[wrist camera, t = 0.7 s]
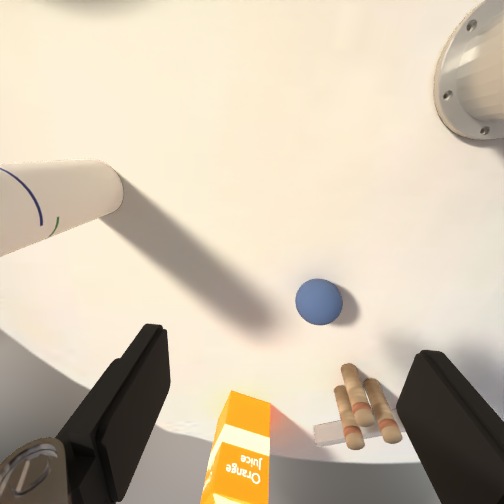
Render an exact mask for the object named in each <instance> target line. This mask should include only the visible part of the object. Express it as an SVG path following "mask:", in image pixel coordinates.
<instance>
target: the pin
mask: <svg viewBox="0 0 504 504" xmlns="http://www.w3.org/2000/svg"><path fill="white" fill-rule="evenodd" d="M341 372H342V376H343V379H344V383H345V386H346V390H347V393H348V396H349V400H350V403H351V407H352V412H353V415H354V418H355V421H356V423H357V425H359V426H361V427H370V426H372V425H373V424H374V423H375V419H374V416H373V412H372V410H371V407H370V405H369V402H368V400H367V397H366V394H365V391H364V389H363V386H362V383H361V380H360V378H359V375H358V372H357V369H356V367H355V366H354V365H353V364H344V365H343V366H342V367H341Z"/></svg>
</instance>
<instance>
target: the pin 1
mask: <svg viewBox="0 0 504 504" xmlns="http://www.w3.org/2000/svg"><path fill="white" fill-rule="evenodd" d="M334 393H335V397H336V401H337V406H338V410H339V414H340V418H341V422H342V427H343V432H344V437H345V440H346V444H347V447H348V448H350V449H352V450H360V449H362V448H363V447H364V446H365V443H364V440H363V435H362V432H361V429H360V426H359V425H357V423H356V421H355V418H354V415H353V412H352V407H351V403H350V400H349V396H348V393H347V390H346V386H337V387H336V388H335V389H334Z"/></svg>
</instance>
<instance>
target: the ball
mask: <svg viewBox="0 0 504 504" xmlns="http://www.w3.org/2000/svg"><path fill="white" fill-rule="evenodd" d="M342 305H343V301H342V296H341V294H340V292H339V290H338V288H337V287H336V286H335V285H334V284H332V283H331V282H329V281H327V280H324V279H312V280H309V281H307V282H305V283H304V284H303V285H302V286H301V287H300V288H299V290H298V292H297V294H296V308H297V310H298V312H299V314H300V315H301V317H302V318H303V319H304V320H306V321H307V322H309V323H311V324H314V325H326V324H329V323H331V322H333V321H334V320H335V319H336V318H337V317H338V316H339V314H340V313H341V310H342Z"/></svg>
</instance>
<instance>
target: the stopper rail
mask: <svg viewBox="0 0 504 504" xmlns="http://www.w3.org/2000/svg"><path fill="white" fill-rule="evenodd" d="M391 412H392V414H393V417H394V419H395V421H396V423H397V425H398V427H399V429H400V432H405V431H406V430H405V428H404V426H403V424H402V422H401V420H400V418H399V416H398V414H397V409H394V410H391ZM373 416H374V419H375V423H374V424H373V425H372V426H370V427H361V426H360V429H361V432H362V435H363V439H367V438H372V437H378V436H382V434H381V432H380V429H379V426H378V423H377V420H376V417H375V415H374V414H373ZM313 428H314V436H315V443H316V445H317V447H322V446H328V445H333V444H339V443H345V442H346V440H345V437H344V432H343V427H342V422H341V420H339V421H334V422H329V423H325V424H320V425H315V426H313Z"/></svg>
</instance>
